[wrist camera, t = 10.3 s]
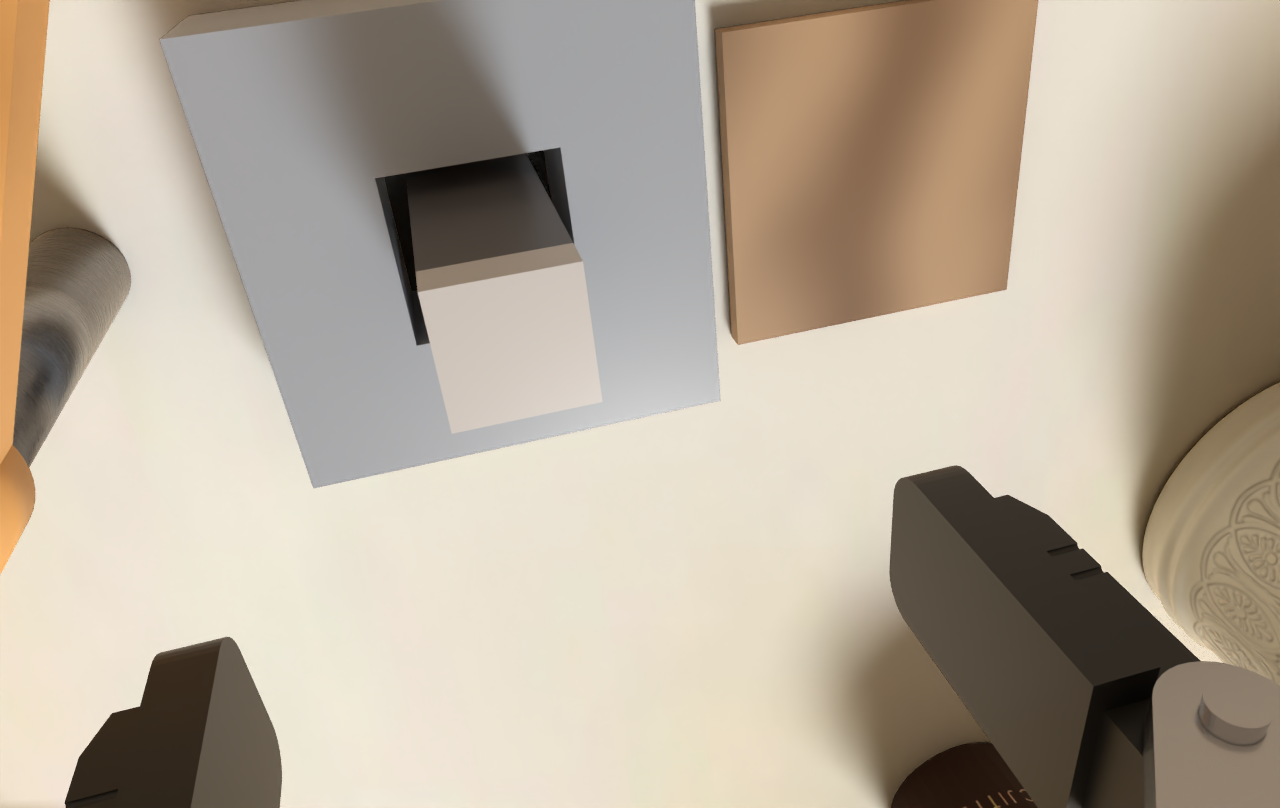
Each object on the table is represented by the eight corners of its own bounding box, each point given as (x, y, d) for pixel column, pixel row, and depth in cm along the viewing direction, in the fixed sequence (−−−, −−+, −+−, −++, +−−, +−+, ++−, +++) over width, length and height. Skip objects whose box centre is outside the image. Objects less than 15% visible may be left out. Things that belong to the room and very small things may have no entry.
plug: (518, 139, 25) (582, 261, 17) (536, 247, 26) (602, 401, 19) (403, 158, 24) (417, 292, 17) (428, 266, 26) (451, 434, 18)
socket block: (652, -48, 23) (692, -35, 20) (685, 345, 29) (720, 400, 26) (188, 15, 22) (158, 39, 19) (320, 420, 27) (313, 488, 24)
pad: (1026, -18, 26) (1040, -16, 25) (996, 282, 31) (1006, 289, 30) (714, 29, 25) (722, 32, 24) (731, 336, 29) (738, 344, 29)
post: (109, 220, 23) (-27, 403, 15) (145, 307, 25) (36, 519, 17) (5, 237, 23) (-190, 434, 15) (47, 325, 24) (-113, 550, 16)
